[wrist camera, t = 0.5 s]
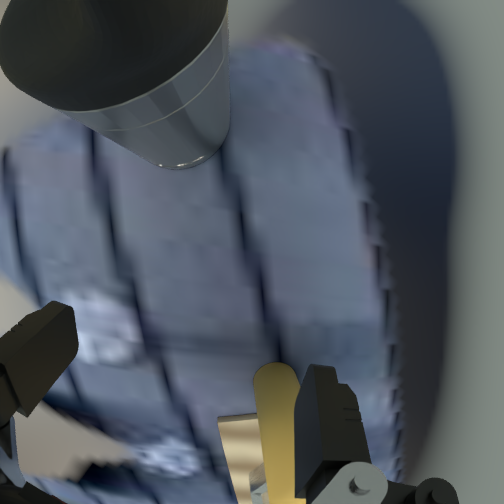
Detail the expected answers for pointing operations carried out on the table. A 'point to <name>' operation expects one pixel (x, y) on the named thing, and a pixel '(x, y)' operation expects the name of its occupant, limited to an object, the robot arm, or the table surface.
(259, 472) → the steel ring collar
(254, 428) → the birch board
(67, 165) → the table surface
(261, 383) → the ochre steel pin
